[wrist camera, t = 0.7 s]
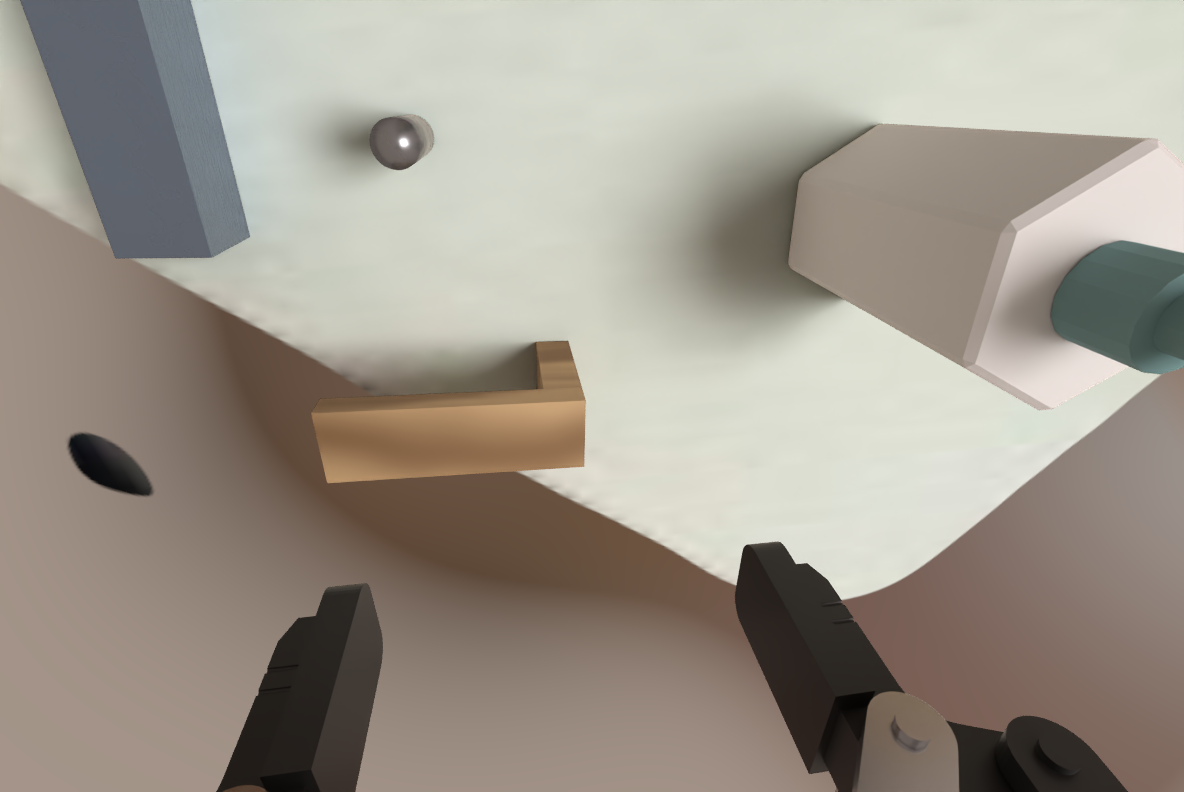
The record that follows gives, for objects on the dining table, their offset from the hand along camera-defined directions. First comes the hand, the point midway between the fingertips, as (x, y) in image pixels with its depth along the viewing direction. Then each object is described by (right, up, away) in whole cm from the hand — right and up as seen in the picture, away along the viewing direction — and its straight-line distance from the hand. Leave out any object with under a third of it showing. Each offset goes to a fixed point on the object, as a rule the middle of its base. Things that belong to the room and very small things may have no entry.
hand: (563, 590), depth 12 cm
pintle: (-9, +18, +17) cm, 26 cm away
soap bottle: (+17, +15, +22) cm, 32 cm away
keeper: (-7, +6, +23) cm, 25 cm away
